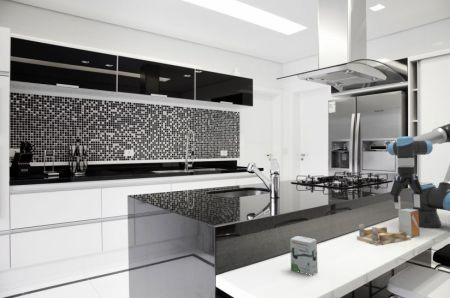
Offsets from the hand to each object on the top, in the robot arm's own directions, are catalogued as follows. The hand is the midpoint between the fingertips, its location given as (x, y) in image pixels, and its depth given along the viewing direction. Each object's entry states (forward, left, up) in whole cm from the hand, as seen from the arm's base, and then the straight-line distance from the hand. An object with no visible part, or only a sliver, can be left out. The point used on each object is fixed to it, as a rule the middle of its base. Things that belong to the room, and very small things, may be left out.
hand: (407, 208), depth 158 cm
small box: (0, 0, -14) cm, 14 cm away
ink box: (+77, +19, -14) cm, 80 cm away
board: (+17, 0, -14) cm, 22 cm away
